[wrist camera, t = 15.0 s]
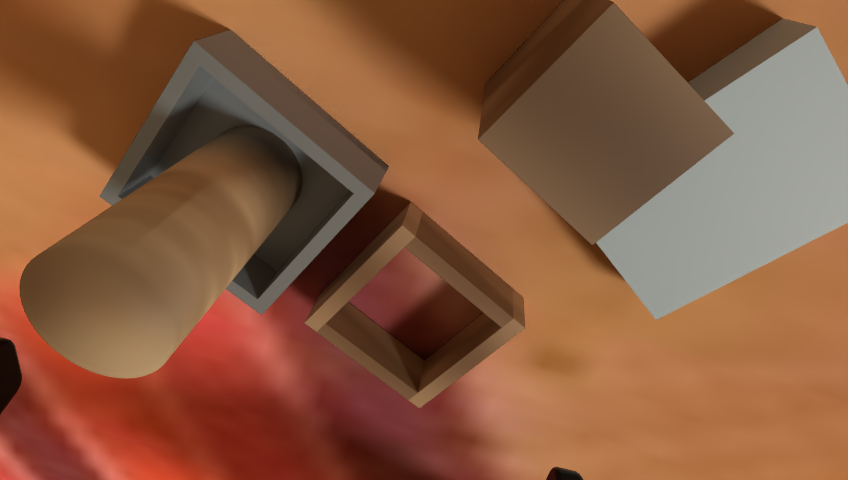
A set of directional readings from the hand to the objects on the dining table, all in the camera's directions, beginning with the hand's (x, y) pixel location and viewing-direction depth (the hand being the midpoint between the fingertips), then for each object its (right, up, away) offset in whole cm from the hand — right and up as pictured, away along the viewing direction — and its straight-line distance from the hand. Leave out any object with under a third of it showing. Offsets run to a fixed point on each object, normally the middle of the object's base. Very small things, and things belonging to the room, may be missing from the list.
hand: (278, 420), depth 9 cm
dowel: (-4, +5, +11) cm, 13 cm away
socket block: (+2, +1, +14) cm, 14 cm away
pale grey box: (+12, +5, +10) cm, 17 cm away
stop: (+7, +8, +9) cm, 14 cm away
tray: (-4, +6, +12) cm, 14 cm away
